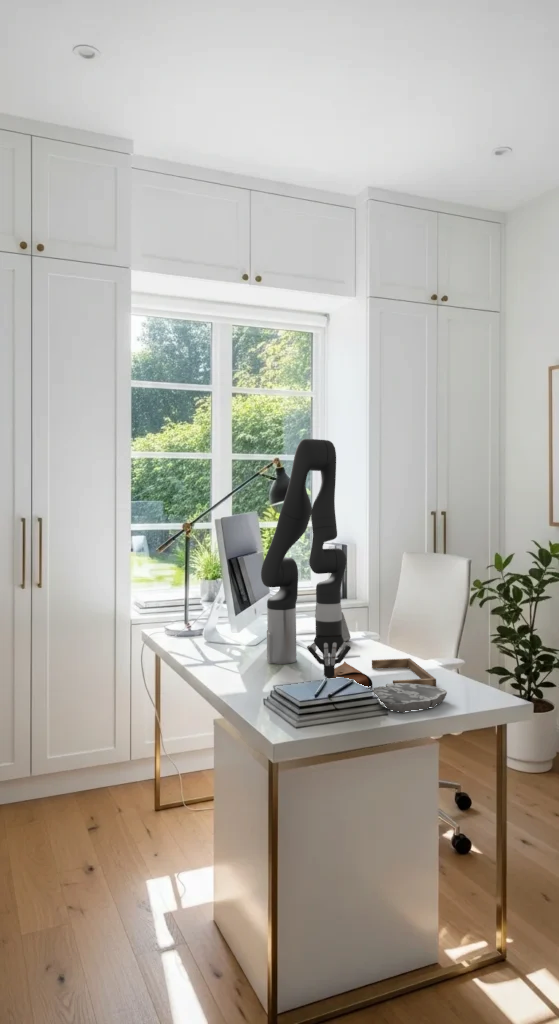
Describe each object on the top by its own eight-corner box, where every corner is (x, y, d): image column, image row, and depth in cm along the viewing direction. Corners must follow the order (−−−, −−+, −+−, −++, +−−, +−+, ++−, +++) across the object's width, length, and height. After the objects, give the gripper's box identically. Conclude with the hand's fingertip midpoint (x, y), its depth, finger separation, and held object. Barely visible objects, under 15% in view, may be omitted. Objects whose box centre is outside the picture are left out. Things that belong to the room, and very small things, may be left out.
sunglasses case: (320, 674, 211) (331, 654, 212) (339, 684, 213) (350, 664, 214) (345, 690, 194) (356, 668, 195) (365, 701, 196) (376, 679, 197)
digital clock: (325, 649, 244) (325, 618, 243) (307, 645, 251) (307, 615, 250) (357, 642, 254) (357, 612, 254) (339, 638, 261) (339, 609, 261)
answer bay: (393, 690, 194) (393, 681, 194) (371, 668, 218) (371, 660, 218) (436, 688, 196) (436, 679, 196) (409, 666, 219) (409, 658, 219)
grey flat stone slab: (407, 689, 196) (407, 678, 196) (456, 704, 182) (456, 692, 182) (355, 703, 184) (355, 692, 184) (404, 720, 171) (404, 708, 171)
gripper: (307, 621, 199) (308, 682, 200) (354, 619, 200) (354, 680, 201) (303, 616, 206) (304, 675, 207) (348, 614, 208) (349, 673, 209)
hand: (329, 677), depth 204 cm, fingers closed
